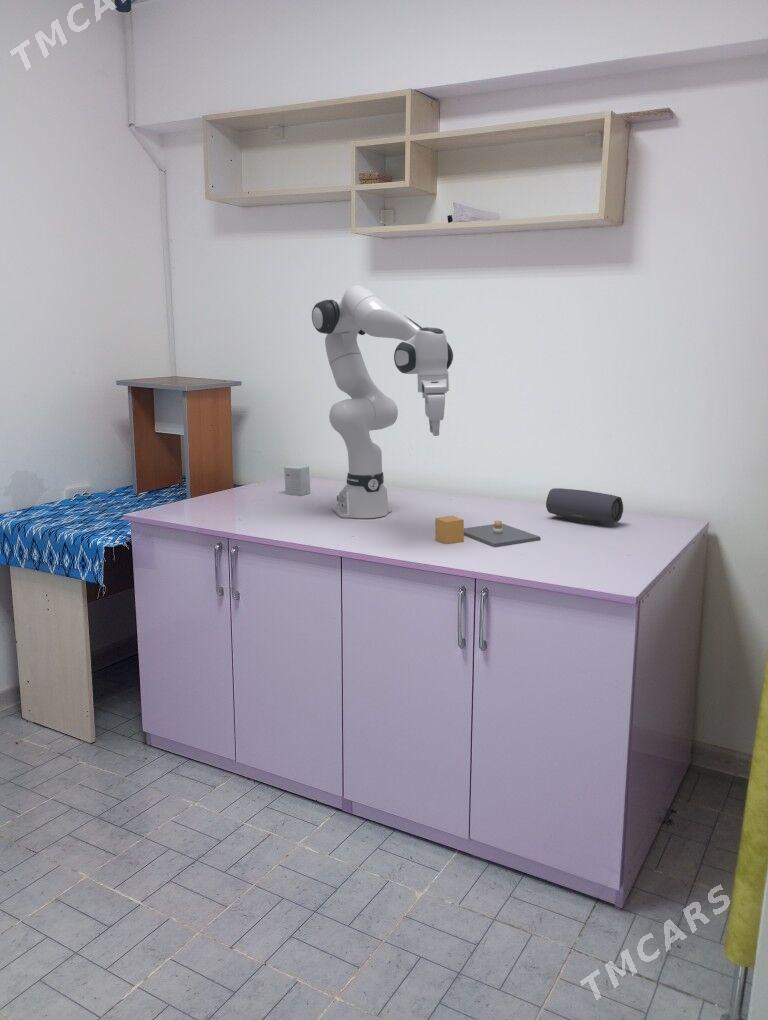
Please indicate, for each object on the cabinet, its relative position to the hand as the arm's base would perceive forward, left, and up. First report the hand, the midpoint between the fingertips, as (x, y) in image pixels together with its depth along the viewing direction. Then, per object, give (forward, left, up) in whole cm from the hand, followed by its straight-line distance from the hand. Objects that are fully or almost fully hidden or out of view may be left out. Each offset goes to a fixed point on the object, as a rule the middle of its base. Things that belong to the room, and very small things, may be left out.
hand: (434, 434), depth 239 cm
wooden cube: (+4, +3, -31) cm, 31 cm away
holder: (+7, +18, -31) cm, 36 cm away
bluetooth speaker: (+5, +52, -31) cm, 61 cm away
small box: (-86, -11, -31) cm, 92 cm away
